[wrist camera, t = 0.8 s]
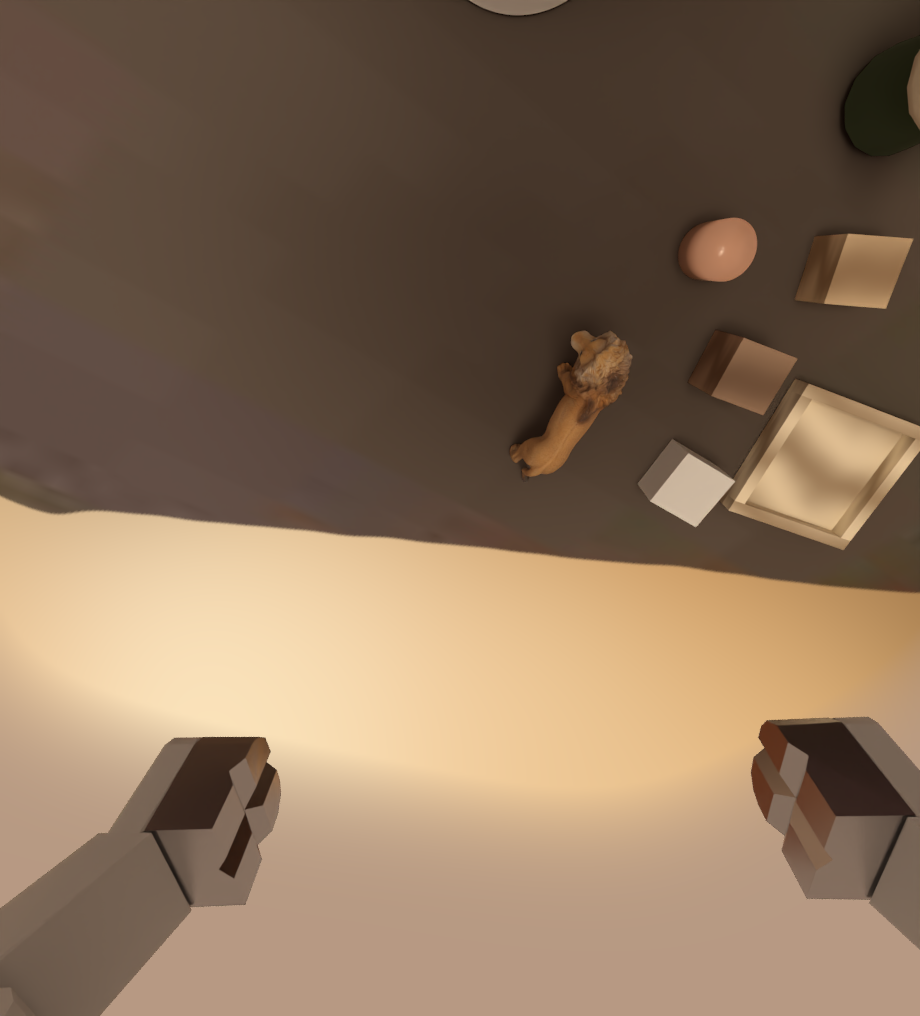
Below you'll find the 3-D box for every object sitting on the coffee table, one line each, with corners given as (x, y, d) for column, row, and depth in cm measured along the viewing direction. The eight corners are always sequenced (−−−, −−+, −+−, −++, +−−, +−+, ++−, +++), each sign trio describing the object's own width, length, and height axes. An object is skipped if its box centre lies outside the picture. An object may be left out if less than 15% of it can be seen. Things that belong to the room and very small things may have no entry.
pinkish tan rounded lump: (694, 213, 39) (717, 208, 35) (741, 233, 39) (768, 230, 36) (668, 269, 41) (687, 269, 37) (714, 287, 41) (737, 289, 37)
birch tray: (795, 378, 44) (808, 383, 42) (915, 425, 45) (934, 431, 43) (719, 501, 49) (728, 510, 47) (830, 539, 50) (843, 550, 48)
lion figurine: (564, 311, 42) (585, 322, 34) (624, 334, 43) (659, 351, 35) (498, 470, 48) (503, 513, 40) (552, 489, 49) (567, 534, 41)
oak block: (814, 236, 39) (848, 233, 36) (873, 241, 39) (913, 238, 36) (793, 300, 41) (823, 303, 38) (850, 304, 41) (885, 308, 38)
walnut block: (715, 329, 42) (743, 337, 38) (763, 348, 43) (797, 358, 38) (687, 382, 44) (711, 395, 40) (734, 399, 45) (763, 415, 40)
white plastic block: (671, 438, 46) (688, 453, 43) (715, 464, 47) (735, 481, 44) (636, 483, 48) (650, 501, 45) (679, 507, 49) (695, 527, 46)
